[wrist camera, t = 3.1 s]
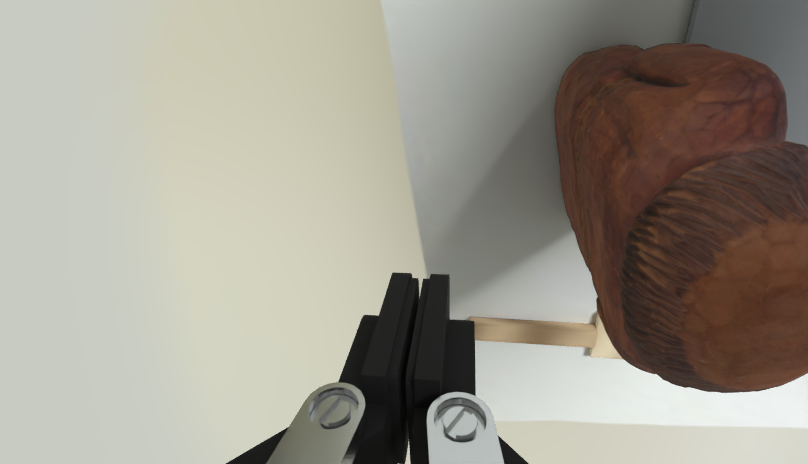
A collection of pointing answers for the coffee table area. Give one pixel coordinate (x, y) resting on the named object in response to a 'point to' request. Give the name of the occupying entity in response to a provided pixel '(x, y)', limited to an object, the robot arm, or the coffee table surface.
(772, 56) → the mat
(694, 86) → the wooden figurine
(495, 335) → the turner
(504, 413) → the coffee table surface
